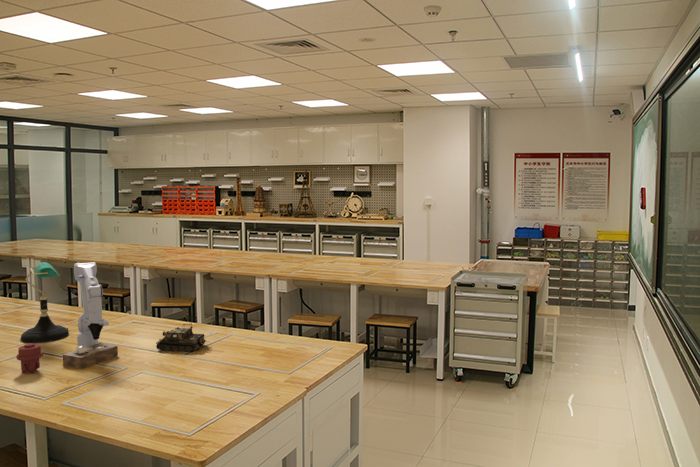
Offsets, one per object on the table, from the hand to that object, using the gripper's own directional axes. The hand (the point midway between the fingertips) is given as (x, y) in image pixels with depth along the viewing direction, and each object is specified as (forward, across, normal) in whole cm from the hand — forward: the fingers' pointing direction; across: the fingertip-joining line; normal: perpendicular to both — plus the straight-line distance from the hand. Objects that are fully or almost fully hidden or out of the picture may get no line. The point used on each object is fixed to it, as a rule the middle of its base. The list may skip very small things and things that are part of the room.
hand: (96, 339), depth 247 cm
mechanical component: (+10, -11, -25) cm, 29 cm away
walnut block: (+10, 0, -3) cm, 10 cm away
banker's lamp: (+10, -57, +16) cm, 60 cm away
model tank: (+10, +25, +30) cm, 40 cm away
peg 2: (+9, 0, +2) cm, 9 cm away
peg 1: (+6, 0, -8) cm, 10 cm away
